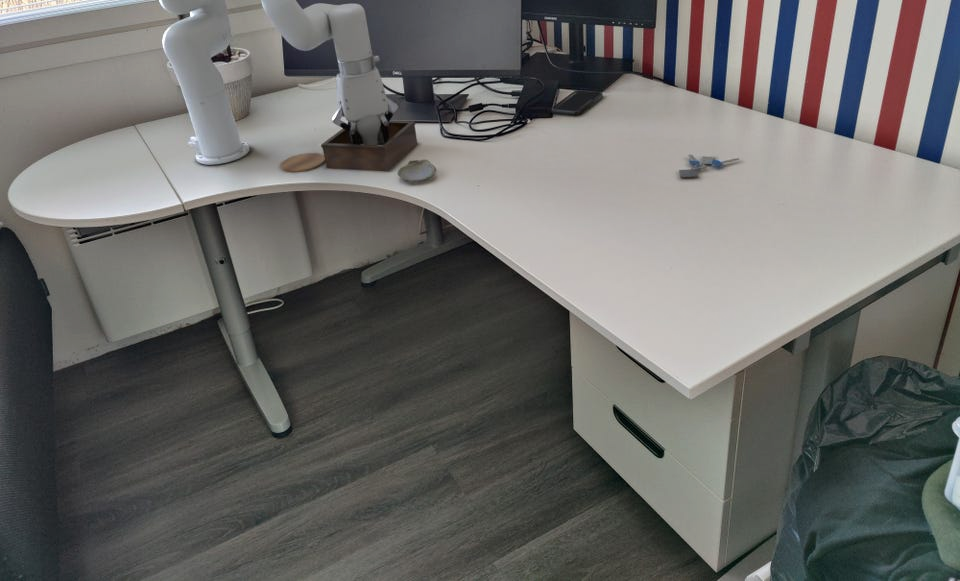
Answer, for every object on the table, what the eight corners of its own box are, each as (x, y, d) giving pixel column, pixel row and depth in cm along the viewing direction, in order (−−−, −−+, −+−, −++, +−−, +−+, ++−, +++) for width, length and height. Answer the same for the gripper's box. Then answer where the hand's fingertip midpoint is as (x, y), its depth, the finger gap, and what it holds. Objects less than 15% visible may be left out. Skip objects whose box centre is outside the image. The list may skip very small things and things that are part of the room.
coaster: (273, 170, 168) (272, 169, 168) (296, 153, 176) (296, 152, 175) (311, 173, 164) (310, 171, 164) (333, 155, 172) (332, 154, 172)
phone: (549, 108, 181) (576, 89, 192) (550, 113, 182) (576, 94, 192) (579, 111, 177) (604, 92, 188) (579, 116, 178) (604, 96, 188)
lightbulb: (389, 157, 168) (381, 110, 162) (363, 163, 166) (354, 116, 160) (382, 148, 173) (374, 102, 167) (357, 154, 171) (348, 108, 165)
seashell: (400, 192, 155) (434, 184, 152) (393, 181, 153) (428, 172, 150) (408, 170, 161) (441, 162, 158) (402, 159, 159) (435, 150, 156)
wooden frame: (325, 168, 166) (320, 144, 163) (358, 141, 178) (354, 119, 175) (388, 171, 161) (384, 147, 158) (418, 144, 173) (415, 121, 170)
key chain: (688, 181, 142) (688, 177, 141) (658, 169, 148) (658, 165, 147) (740, 161, 147) (740, 157, 147) (709, 150, 153) (709, 146, 153)
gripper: (388, 54, 164) (401, 131, 174) (313, 70, 159) (330, 149, 168) (399, 61, 158) (412, 141, 168) (322, 78, 153) (339, 159, 163)
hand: (371, 144), depth 168 cm, fingers closed on lightbulb, 5 cm apart
